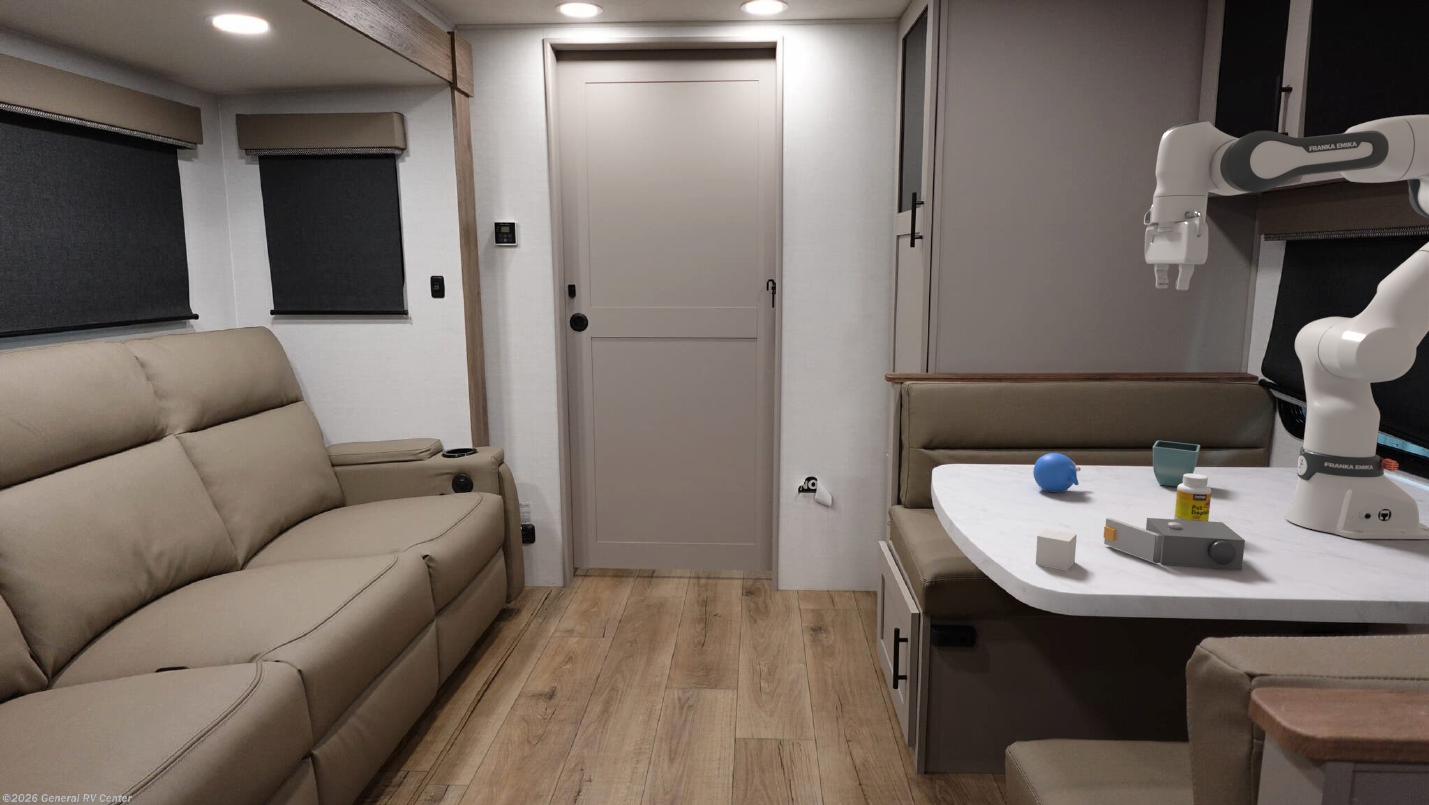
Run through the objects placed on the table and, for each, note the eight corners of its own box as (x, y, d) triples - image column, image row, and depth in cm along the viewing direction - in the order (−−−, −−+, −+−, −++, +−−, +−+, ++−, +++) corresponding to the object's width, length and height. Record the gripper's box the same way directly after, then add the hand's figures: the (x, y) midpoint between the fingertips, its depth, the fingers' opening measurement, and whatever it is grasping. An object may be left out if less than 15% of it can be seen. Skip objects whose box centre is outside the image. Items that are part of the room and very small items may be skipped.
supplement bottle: (1188, 534, 158) (1194, 480, 156) (1166, 525, 163) (1171, 473, 161) (1214, 532, 159) (1220, 478, 157) (1191, 523, 164) (1196, 471, 162)
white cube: (1074, 562, 143) (1076, 533, 142) (1067, 571, 139) (1069, 541, 138) (1043, 556, 146) (1045, 528, 145) (1035, 564, 142) (1037, 535, 141)
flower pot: (1196, 483, 195) (1200, 444, 193) (1194, 491, 187) (1197, 451, 186) (1153, 478, 199) (1156, 439, 198) (1149, 486, 192) (1152, 446, 190)
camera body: (1219, 550, 149) (1222, 518, 148) (1245, 573, 138) (1249, 539, 137) (1144, 545, 151) (1147, 514, 151) (1164, 567, 140) (1167, 534, 139)
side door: (1108, 543, 151) (1110, 517, 150) (1161, 562, 141) (1164, 535, 141) (1101, 544, 151) (1103, 519, 150) (1154, 564, 141) (1156, 537, 140)
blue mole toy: (1101, 494, 185) (1104, 455, 184) (1061, 500, 180) (1064, 461, 179) (1057, 481, 196) (1059, 445, 194) (1018, 487, 191) (1020, 450, 189)
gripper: (1222, 210, 148) (1214, 291, 150) (1175, 216, 168) (1168, 287, 170) (1183, 210, 149) (1175, 290, 151) (1140, 216, 169) (1134, 287, 171)
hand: (1171, 289), depth 161 cm, fingers open, 8 cm apart
